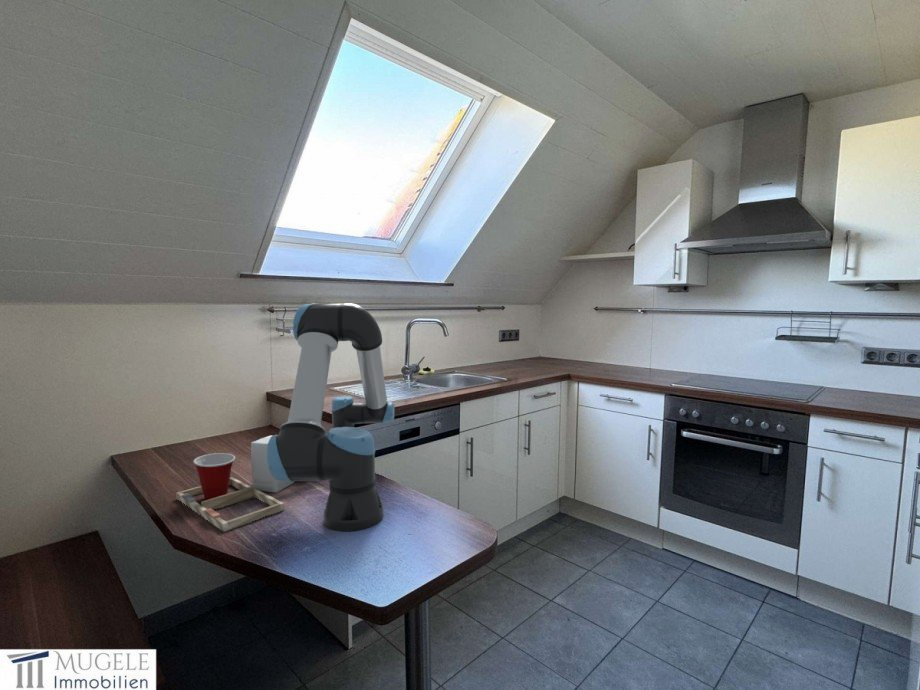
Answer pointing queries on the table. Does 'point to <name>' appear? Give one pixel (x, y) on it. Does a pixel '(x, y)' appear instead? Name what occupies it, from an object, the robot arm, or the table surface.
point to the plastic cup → (214, 473)
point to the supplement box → (264, 468)
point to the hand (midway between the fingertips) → (264, 463)
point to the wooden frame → (243, 494)
